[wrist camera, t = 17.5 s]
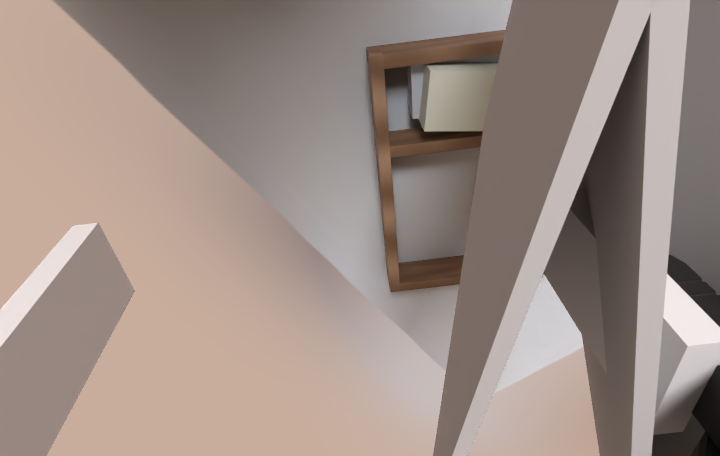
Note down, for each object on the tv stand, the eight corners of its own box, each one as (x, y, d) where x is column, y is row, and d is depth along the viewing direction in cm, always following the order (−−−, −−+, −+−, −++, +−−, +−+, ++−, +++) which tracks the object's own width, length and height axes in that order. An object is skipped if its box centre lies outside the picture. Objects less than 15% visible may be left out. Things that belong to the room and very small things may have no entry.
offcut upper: (424, 62, 41) (430, 70, 39) (549, 62, 42) (563, 71, 39) (418, 120, 44) (424, 131, 42) (535, 119, 45) (547, 130, 42)
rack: (366, 47, 42) (369, 56, 39) (579, 20, 42) (601, 28, 39) (387, 271, 58) (390, 292, 55) (542, 253, 58) (555, 272, 55)
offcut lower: (406, 54, 44) (410, 61, 41) (527, 39, 43) (539, 46, 41) (408, 109, 47) (412, 119, 44) (521, 96, 47) (532, 105, 44)
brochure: (556, 134, 34) (637, 622, 11) (484, 122, 35) (419, 546, 12) (634, -92, 26) (1763, -41, 2) (535, -98, 27) (656, -104, 3)
